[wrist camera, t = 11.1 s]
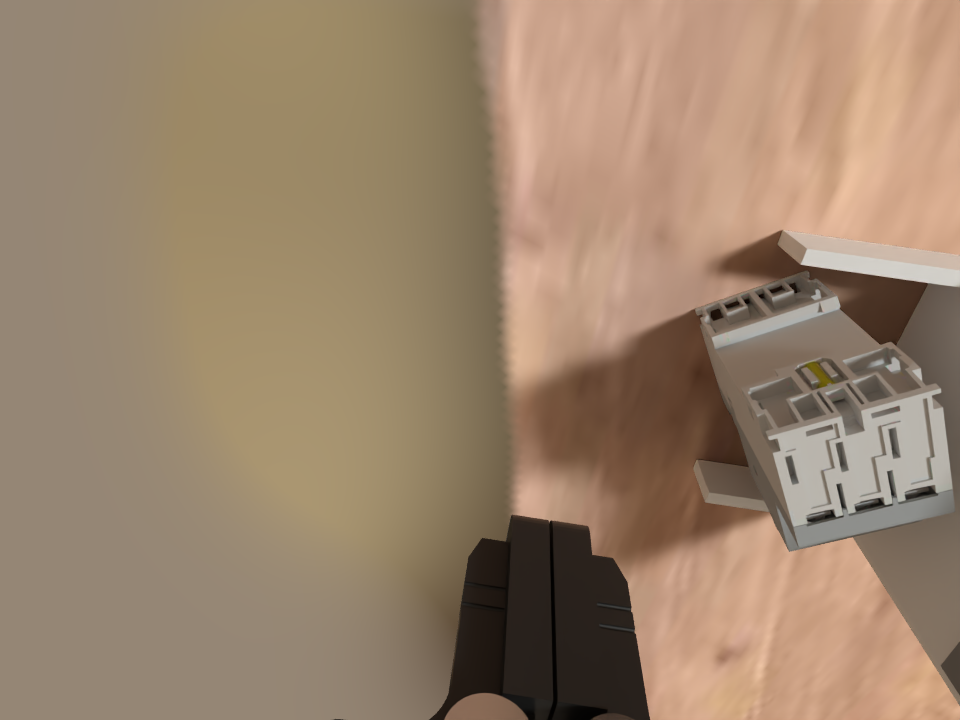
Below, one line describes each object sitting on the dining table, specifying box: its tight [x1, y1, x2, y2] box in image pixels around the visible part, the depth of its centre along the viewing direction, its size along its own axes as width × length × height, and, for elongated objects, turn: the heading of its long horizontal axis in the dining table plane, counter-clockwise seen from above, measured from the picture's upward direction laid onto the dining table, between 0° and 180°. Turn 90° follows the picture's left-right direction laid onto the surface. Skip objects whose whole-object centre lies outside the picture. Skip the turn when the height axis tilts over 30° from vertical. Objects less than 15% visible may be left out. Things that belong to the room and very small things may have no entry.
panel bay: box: [693, 230, 960, 705], centre depth 34 cm, size 20×12×20 cm, turn 173°
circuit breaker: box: [695, 270, 955, 552], centre depth 37 cm, size 8×14×15 cm, turn 24°
